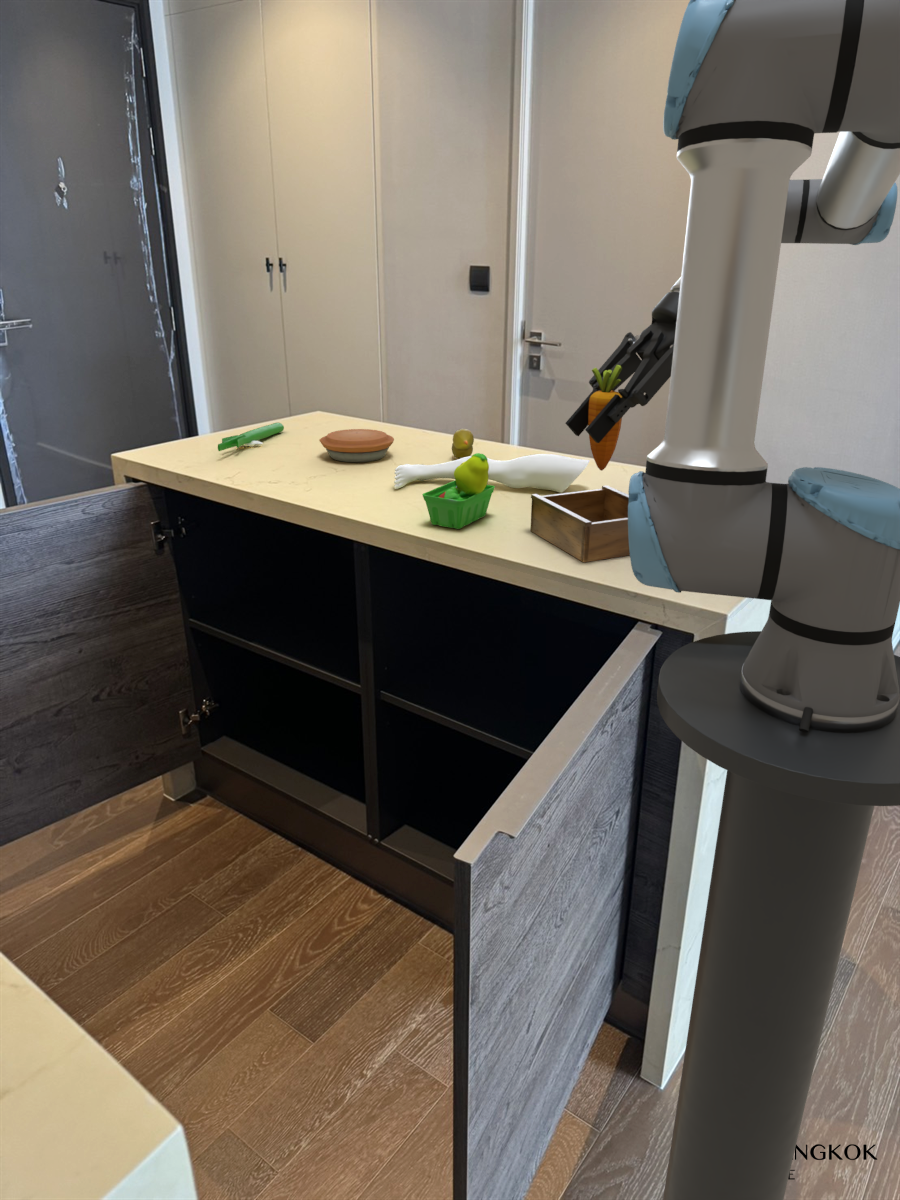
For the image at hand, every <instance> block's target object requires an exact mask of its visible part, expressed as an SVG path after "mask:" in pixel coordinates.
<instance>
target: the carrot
mask: <svg viewBox="0 0 900 1200" xmlns="http://www.w3.org/2000/svg"><path fill="white" fill-rule="evenodd" d="M598 370H599V369H598V368H597V367H594V368H593V369H591V372H592V373H593V376H594V375H595V377H596V379H597V382H598V384H599V386H600V389H601V390H600V391H596V392H595V393H593V394H592V395H591V396H590V399H589V415H588V426H589V425H590V423H591V422H592V421H593V420H594V419H595V418H596V416H597V415H598V414H599V413H600V412H601V411H602V409H603V408H604V407H605V406H606V405H607V404H608V402H609V401H610V400H611V399H612V398H613V397H614V395H615V394H617V395H619V396H620V397H621V398H622V396H621V395H620V393H619V392H618V391H617V390H615V391H612V389H613V388H614V387H616V386H617V385H618V384H619V383H620V382H621V380H620V379H618V380H616V379H617V377H618V376H619V374H620V372H621V370H622V368H621V366H620V365H616V367H615V369H614V371H613V373H612V371H611V370H608V371H607V370H605V371H604V372H603V381H602V378H601V375H600V372H599V371H598ZM611 373H612V375H611ZM610 375H611V377H610ZM609 377H610V378H609ZM622 421H623V417H622V418H621V419H620V420H619V421H618V422H617V423H616V424H615V425H614V426H613V427H612V429H611V430H610V431H609V432H608V433H607V434H606V436H605V437H604V438H603V439H602V440H601V441H600V443H596V442H595V441H594V440H593V438H592V437H591V436H590V435H589V434H588V438H589V439H588V440H589V446H590V451H591V455H592V457H593V460H594V463H595V464H596V467H597V468H598V469H599V471H604V470H605V469H606V468H607V466H608V464H609V463H610V461H611V459H612V457H613V455H614V453H615V450H616V447H617V444H618V441H619V436H620V432H621V429H622V428H621V427H622ZM588 426H587V427H588Z"/></svg>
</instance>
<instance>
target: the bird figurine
mask: <svg viewBox="0 0 900 1200" xmlns="http://www.w3.org/2000/svg"><path fill="white" fill-rule="evenodd" d="M474 442H475V438H474V435H473V433H472V431H471V430H469V429H467V428H461V429H458V430H456V431H455V432H454V433H453V435H452V445H451V452H452V455H453V456H454V457H455V458H456V459H457V460H458V459H460V458H464V457H468V456H472V455H473V451H474V446H473V445H474Z"/></svg>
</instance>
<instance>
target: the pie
mask: <svg viewBox="0 0 900 1200" xmlns="http://www.w3.org/2000/svg"><path fill="white" fill-rule="evenodd" d="M318 441H319V443H320V444H321V446H322V447H323V448H325V451H326V452H327V453H328V455H329V457H330V458H331V459H333V460H335V461H338V462H342V463H343V462H344V463H365V462H366V463H368V462H374V461H378V460H381V459H383V458H385V456H386V454H387V452H388V450H389V448H390V447H391V446H392V445H393V444H394V441H395V438H394V436H392V435H390V434H387V432H384V431H383V430H378V429H368V428H351V429H349V428H348V429H339V430H335V431H331V432H329V433H327V435H324V436H323V437H320V438H319V439H318Z"/></svg>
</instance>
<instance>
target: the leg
mask: <svg viewBox="0 0 900 1200" xmlns="http://www.w3.org/2000/svg"><path fill="white" fill-rule="evenodd" d="M471 457H472V455H471V456H468V457H464V458H460V459H458V458H457V459H455V460H450V461H445V462H441V463H436V464H435V463H434V464H418V463H416V464H409V463H405V464H400V465H398V466H396V468H395V469H394V475H395V476H394V477H393V478H394V479H395V480H394V481H393V483H394V486H393V487H394V489H395V490H398V489H400V488H403V487H404V486H406V485H407V484H409V483H412V482H415V481H419V482H425V481H429V480H436V479H437V480H439V479H448V480H455V477H454V471H455V469H456V468H457V467H458V466H460V464H462V463H463V462H465V461H467V460H468V459H469V458H471ZM487 459H488V460H487V462H488V464H489V470H488V481H493V482H496V483H500V484H502V485H503V486H506V487H508V488H512V489H521V488H522V489H523V488H531V489H538V490H547V491H552V492H556V493H558V494H561V493H564V492H565V491H566V490H567V489H568V488H569V487H570V486H571V485H572V484H573V483H574V482H575V481H576V479H577V478H578V477H579V476H580V475H581V474H582V473H583V472H584V470H585V469H586V468H587V467H588V465H589V463H590V459H582V458H574V457H571V456H570V457H569V456H565V455H560V454H553V453H535V454H529V455H523V456H519V457H516V458H512V459H507V460H499V459H492V458H489V457H487Z"/></svg>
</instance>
